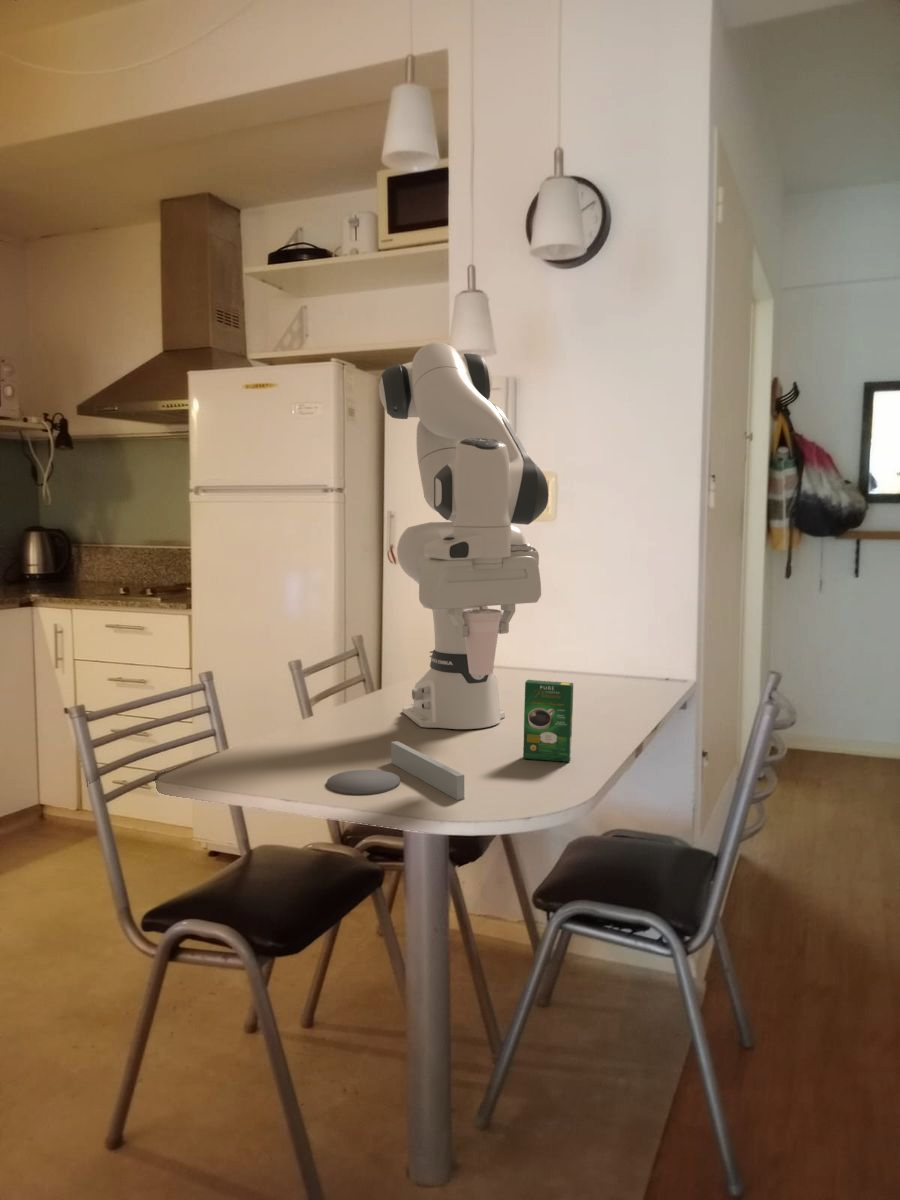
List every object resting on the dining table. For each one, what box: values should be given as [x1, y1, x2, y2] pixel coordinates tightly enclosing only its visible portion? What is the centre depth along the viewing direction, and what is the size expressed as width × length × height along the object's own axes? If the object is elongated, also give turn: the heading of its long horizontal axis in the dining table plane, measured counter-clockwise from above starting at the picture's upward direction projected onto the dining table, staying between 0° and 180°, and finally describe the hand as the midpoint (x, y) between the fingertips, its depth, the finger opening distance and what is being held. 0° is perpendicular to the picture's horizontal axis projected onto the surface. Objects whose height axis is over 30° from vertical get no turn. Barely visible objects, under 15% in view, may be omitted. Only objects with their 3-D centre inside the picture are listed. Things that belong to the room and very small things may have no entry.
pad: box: [326, 769, 401, 796], centre depth 137 cm, size 11×11×1 cm
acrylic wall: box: [390, 740, 465, 801], centre depth 138 cm, size 22×1×4 cm, turn 29°
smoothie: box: [461, 606, 503, 675], centre depth 139 cm, size 6×6×14 cm
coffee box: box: [522, 679, 574, 763], centre depth 149 cm, size 8×3×13 cm, turn 75°
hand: (481, 635), depth 139 cm, fingers closed on smoothie, 6 cm apart
